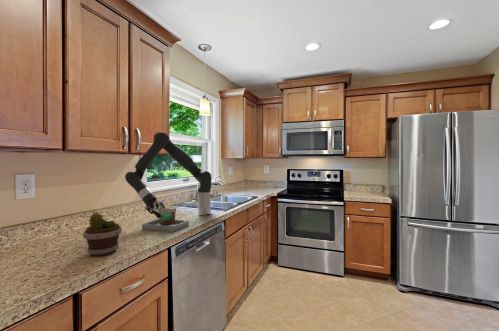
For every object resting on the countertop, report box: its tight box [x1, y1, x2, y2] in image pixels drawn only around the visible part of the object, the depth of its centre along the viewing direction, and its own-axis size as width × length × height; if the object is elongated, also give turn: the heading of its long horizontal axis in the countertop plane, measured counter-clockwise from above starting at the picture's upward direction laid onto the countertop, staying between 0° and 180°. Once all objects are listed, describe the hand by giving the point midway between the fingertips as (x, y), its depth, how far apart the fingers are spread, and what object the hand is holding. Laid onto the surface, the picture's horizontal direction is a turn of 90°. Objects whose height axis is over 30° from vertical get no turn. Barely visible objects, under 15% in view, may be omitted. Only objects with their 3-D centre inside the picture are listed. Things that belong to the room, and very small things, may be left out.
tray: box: [141, 218, 190, 233], centre depth 149 cm, size 16×22×3 cm
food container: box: [157, 207, 177, 225], centre depth 148 cm, size 12×6×10 cm, turn 71°
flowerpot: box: [82, 210, 123, 257], centre depth 108 cm, size 14×15×20 cm
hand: (162, 216), depth 149 cm, fingers closed on food container, 5 cm apart
